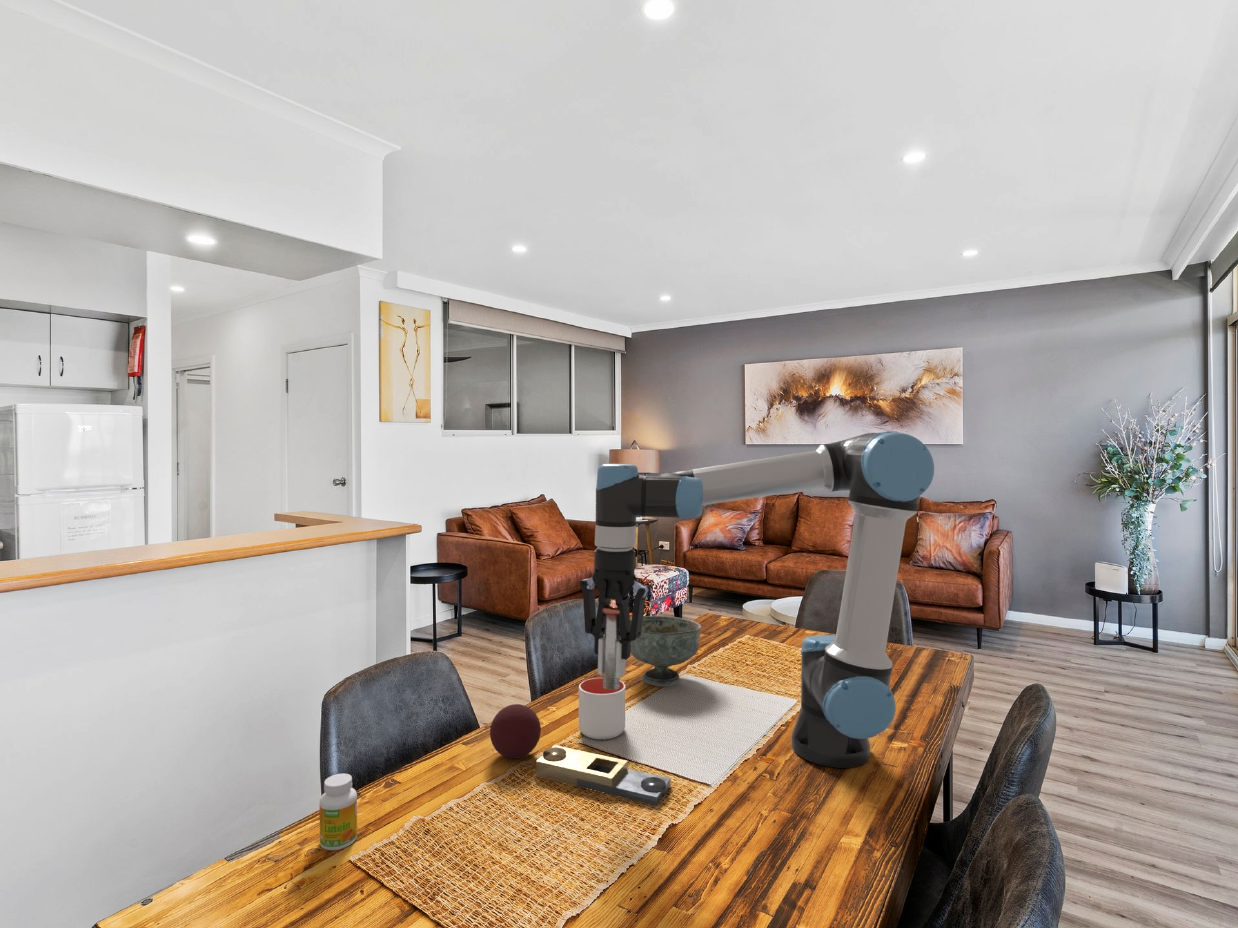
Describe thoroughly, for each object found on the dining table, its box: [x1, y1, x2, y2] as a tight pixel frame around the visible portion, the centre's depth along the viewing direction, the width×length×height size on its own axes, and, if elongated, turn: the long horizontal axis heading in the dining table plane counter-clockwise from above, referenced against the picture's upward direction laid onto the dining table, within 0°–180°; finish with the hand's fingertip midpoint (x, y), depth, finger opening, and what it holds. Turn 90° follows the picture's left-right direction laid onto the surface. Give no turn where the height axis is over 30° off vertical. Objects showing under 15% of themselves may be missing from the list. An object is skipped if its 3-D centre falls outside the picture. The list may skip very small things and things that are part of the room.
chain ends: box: [535, 744, 671, 807], centre depth 121 cm, size 24×7×3 cm, turn 66°
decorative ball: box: [489, 703, 542, 759], centre depth 131 cm, size 10×10×10 cm
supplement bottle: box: [319, 773, 358, 851], centre depth 103 cm, size 5×5×10 cm
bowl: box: [630, 615, 702, 687], centre depth 173 cm, size 20×19×15 cm
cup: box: [578, 677, 626, 740], centre depth 142 cm, size 10×10×10 cm
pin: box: [602, 603, 621, 690], centre depth 122 cm, size 4×4×15 cm
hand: (611, 673), depth 122 cm, fingers closed on pin, 3 cm apart
